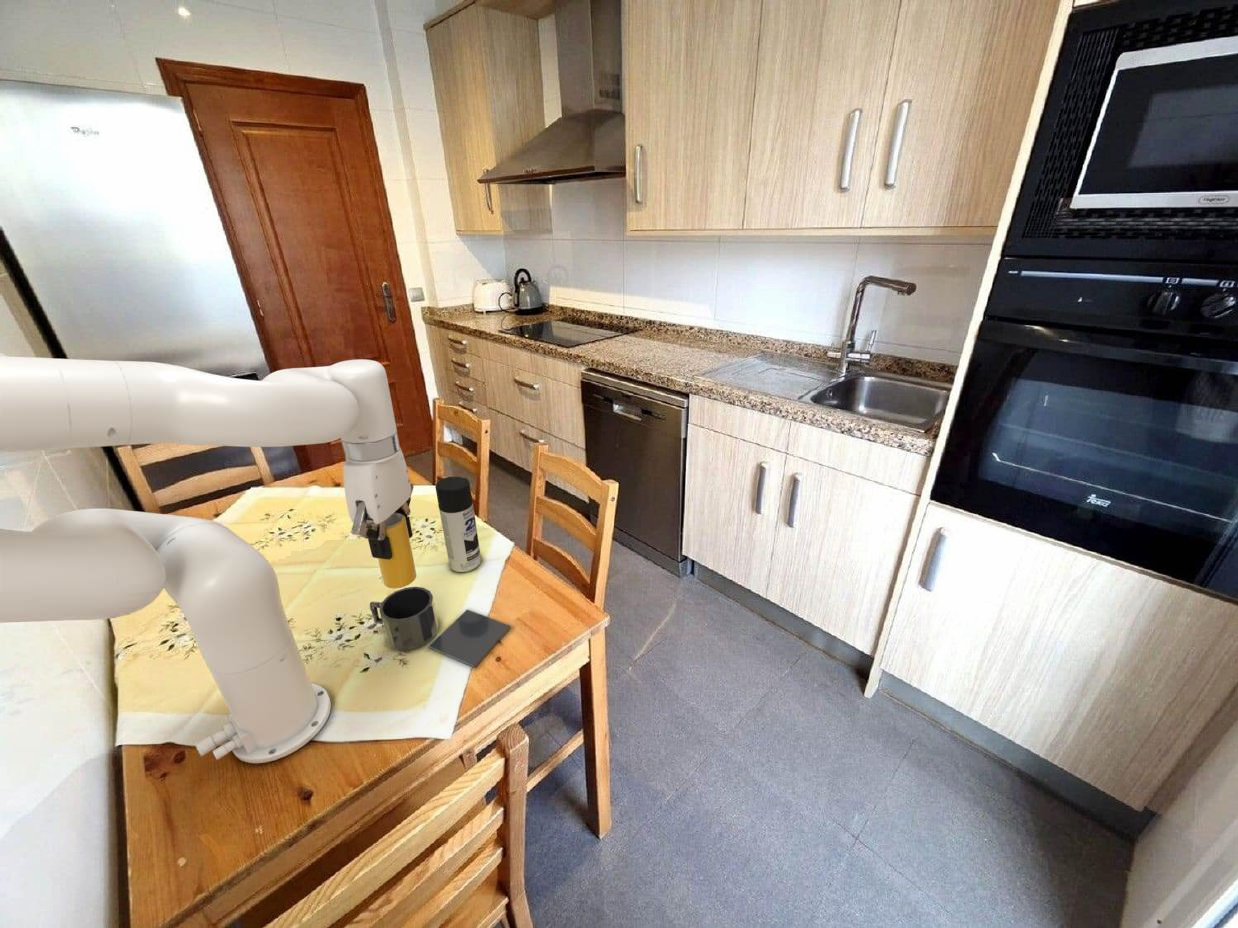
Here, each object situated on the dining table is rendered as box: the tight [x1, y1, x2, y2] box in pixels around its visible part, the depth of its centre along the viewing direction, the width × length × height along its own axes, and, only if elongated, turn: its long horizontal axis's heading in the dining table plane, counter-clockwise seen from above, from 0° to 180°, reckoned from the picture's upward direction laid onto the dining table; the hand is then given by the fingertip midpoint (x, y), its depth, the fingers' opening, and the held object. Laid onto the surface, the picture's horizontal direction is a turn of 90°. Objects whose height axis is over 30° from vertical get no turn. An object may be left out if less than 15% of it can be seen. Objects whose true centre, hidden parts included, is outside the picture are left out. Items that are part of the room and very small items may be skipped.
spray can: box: [435, 476, 482, 573], centre depth 105 cm, size 7×7×20 cm
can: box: [372, 513, 417, 590], centre depth 82 cm, size 5×5×12 cm
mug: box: [369, 586, 439, 652], centre depth 89 cm, size 12×9×7 cm
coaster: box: [428, 609, 511, 669], centre depth 90 cm, size 10×10×1 cm
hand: (393, 545), depth 82 cm, fingers closed on can, 5 cm apart
